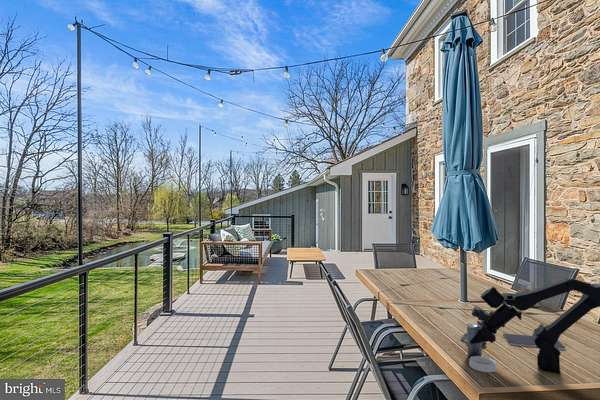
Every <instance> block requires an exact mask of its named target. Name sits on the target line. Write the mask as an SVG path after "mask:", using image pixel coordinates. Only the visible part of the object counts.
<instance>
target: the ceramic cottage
mask: <svg viewBox="0 0 600 400" xmlns="http://www.w3.org/2000/svg"><path fill="white" fill-rule="evenodd" d="M533 290H537V289H536V286H535V281H532V282H531V283H528V282H527V283H526V282H525V286H520V287H519V288H518V290H517V291H516V292H515V293H518V292H524V291H533ZM534 307H535V308H537V307H539V302H538V303H537V304H536V305H534V306H533V307H532V308H534Z"/></svg>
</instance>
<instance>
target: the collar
mask: <svg viewBox="0 0 600 400" xmlns="http://www.w3.org/2000/svg"><path fill="white" fill-rule="evenodd" d="M468 363H469V367H470V368H471V369H473V370H475V371H477V372H482V373H489V374H490V373H495V372H497V361H496V360H494V359H492V358H490V357H487V356H483V355H482V356H471V357H470V358H468Z"/></svg>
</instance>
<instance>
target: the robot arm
mask: <svg viewBox="0 0 600 400" xmlns="http://www.w3.org/2000/svg"><path fill="white" fill-rule="evenodd" d="M572 291H576V292H579V293H581V294H582V295H581V297H580V299H579V300H578V301H577V302H575V303H574V304H573V305H572V306H570V307H569V308H568V309H567V310H565V312H563V313H562V314H561V315H559V317H558V318H556V319H555V320H554V321H552V322H551V323H550V324H548V325H545V326H544V324H543V323H540V324H539V326H538V327H536V328H534V329H533V333H532V335H531V336H532V338H533V340H534V342H535V344H536V346H537V347H538V348H537V347H536V348H537V349H538V352H537V355H536V356H537V357H536V360H537V364H536V365H537V367H538V370H539V371H543V372H549V373H552V374H558V375H560V374H561V367H560V366H561V365H560V363H561V362H560V356H561V351H560V350H559V349H558V348H557V346H556V343H557V341H559V339H560V337H561V335H562V334H563V333H564V332H566V331H567V330H568V329H570V328H571V327H572V326H573V325H575V323H578V321H579V320H581V318H584V316H586V314H587V315H588V313H590V311H592V310H593V309H597V308H599V307H600V283H596V282H594V283H590V282H587V281H583V280H580V279H576V278H574V277H567V278H565V279H563V280H560V281H556V282H554V283H551V284H549V285H546V286H543V287H539V288H537V289H536V290H533V291H524V292H518V293H516V292H515V293H514V294H507V295H503V294H502V293H501V292H500V291H499V290H498V289H497V287H495V286H492V287H490V288H489V289H486V290H485V291H484V292H482V294H481V295H480V296H479V297H480V298H481V299H482V300H483V301H484V302H485V304H486V305H488V306H489V308H490V309H496V310H494V311H493V310H492V311H490V312H488V311H486V310H485V309H483V308H481V307H479V306H476V305H474V307H473V309H472V311H471V316H472V317H474V318H475V317H476V318H477V323H476V324H479V325H481V326H480V327H478V332H477V334H476V335H475V336H474V337H473V338H472V339H471V341H470V343H471V344H475V343H480V342H484V343H486V342H489V343H491V344H493V343H495V341H496V338H497V337H496V334H497V333H498V330H500V329H501V328H505V327H506V324H507V323H509V322H510V321H512V320H513V319H514V318H515V317H516V318H518V320H520V321H522V318H523V317H522V314H523V313H522V312H524V311H526V310H529V309H531V308H534V307H533V306H534V305H536V304H537V303H538V304H539V303H540V302H542V301H544V300H547V299H550V298H554V297H557V296H561V295H563V294H565V293H568V292H572Z"/></svg>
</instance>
